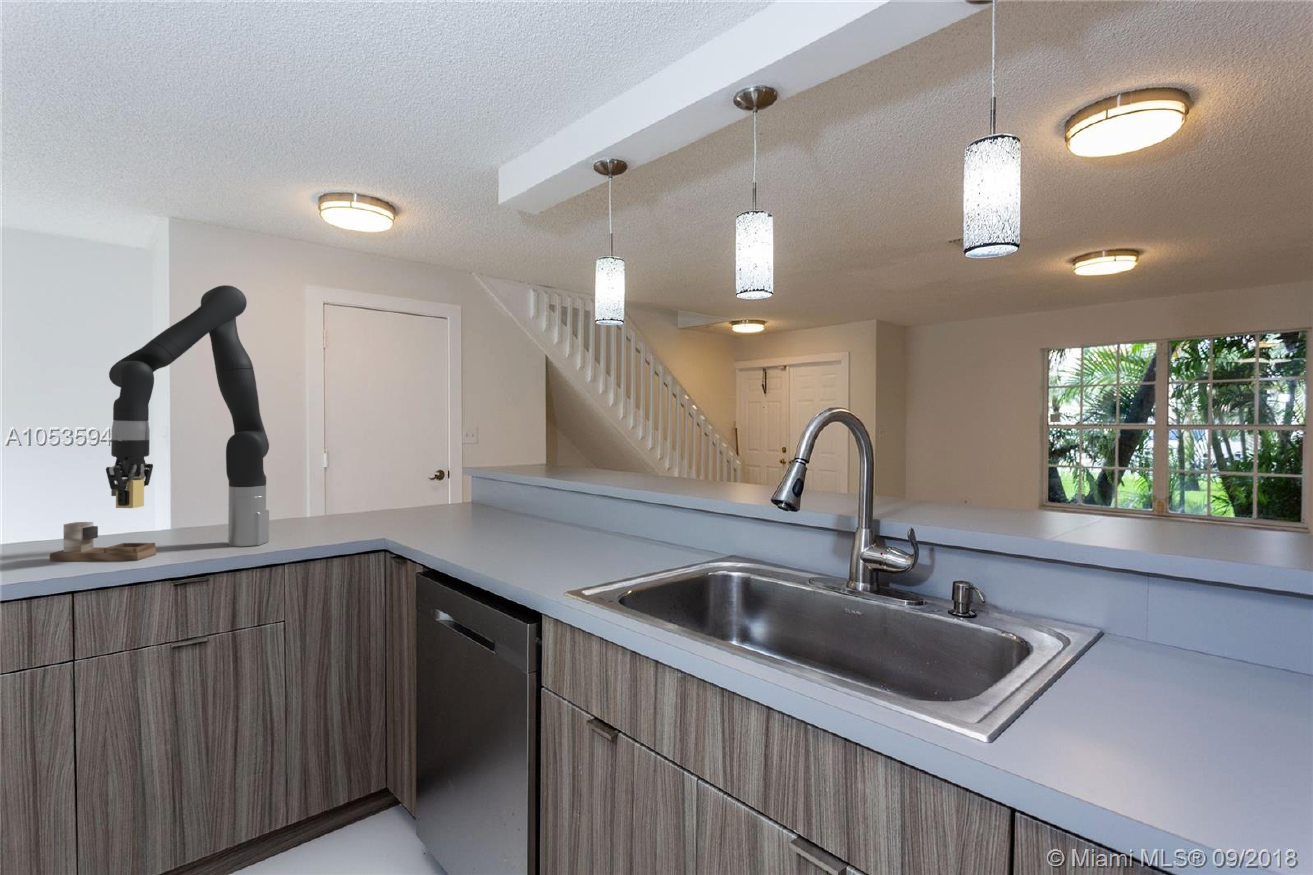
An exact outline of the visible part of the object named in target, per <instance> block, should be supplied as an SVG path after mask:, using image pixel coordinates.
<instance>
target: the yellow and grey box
mask: <svg viewBox="0 0 1313 875" xmlns="http://www.w3.org/2000/svg"><path fill="white" fill-rule="evenodd" d="M144 481H145V479H144V480H133V481H131V482H130V488H129V490H128V491H129V505H127V506H119V505H118V491H116V490H115V489H111V488H110V490H111V491H110V492H111V495H110V496H111V497H115V509H135V508H141V507H144V506H145V486H144ZM123 483H124V486H125V482H123ZM115 484H117V481H115Z"/></svg>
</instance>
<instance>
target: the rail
mask: <svg viewBox="0 0 1313 875" xmlns="http://www.w3.org/2000/svg"><path fill="white" fill-rule="evenodd" d="M98 538H99V526H98V525H94V521H73V522H70V523H63V549H61V550H58V551H57V550H56V551H53V552H49V562H111V561H113V562H115V561H117V562H120V561H121V562H122V561H125V562H126V561H127V562H130V561H133V562H134V561H135V562H136V561H140V560H144V559H147V558H150V557H154V556H156V555H157V547H156V542H123V543H118V544H115V545H110V546H107V547H94V540H95V539H98Z"/></svg>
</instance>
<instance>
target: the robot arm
mask: <svg viewBox="0 0 1313 875" xmlns="http://www.w3.org/2000/svg"><path fill="white" fill-rule="evenodd" d="M246 308H247V297H246V295H245V294H244V292H242V290H240V289H239V288H237V287H236V286H232V285H226V284H225V285H218V286H216V287H213V288H211V289H210V290H207V291H206V292H205V293H203V295H202V296H201V298H200V306H199V307H198V308H196V309H194V311H193V312H192V313H191V312H190V314H188V315H187V316H186V317H184V318H182V319H181V320H179V321H178V322H176V323H174V324H172V325H171V326H169V327H168V328H166V329H164V330H163V331H162V332H160V333H159V334H158V335H157V336H155V337H154V338H152V339H151V340H150V341H148V342H147V343H145V345H143V346H142V347H140V348H139V349H138V350H135V351H133V352H132V353H130V354H127V355H126V356H125V357H123V358H121V359H120V360H118V361H117V362H115V363H114V364H113V365H112V367H111V368H110V370H109V371H108V378H109V381H110V382H111V383H112V384H113V385H114V386H116V387H118V388H120V390H119V391H120V392H119V397H118V398H116V399H115V400H114V402H113V406H112V407H113V408H112V410H113V412H112V420H113V421H112V425H111V449H110V450H111V452H110V453H111V454H110V455H111V456H112V457H113V458H116V460H115V462H114V465H112V466H106V467H105V471H106V476H107V480H108V484H109V487H110V490H111V489H115V490H116V491H118V505H119V506H127V505H129V491H128V490H129V488H130V482H131V481H133V480H144V487H146V486H149V484H150V481H151V476H152V472H153V470H154V469H153V468H154V464H153V463H147V462H146V460H145V457H149V455H150V443H151V442H150V436H151V435H150V432H151V431H150V425H149V420H150V418H149V415H150V414H149V410H150V409H149V408H150V407H149V405H150V400H151V398H152V394H153V389H154V385H155V375H154V373H155V372H156V371H157V370H159V369H162V368H166V367H167V366H169V365H171V364H172V363H174V362H175V361H177V359H179V358H180V357H181V356H182V355H184V354H185V353H186V352H187V351H189V349H191V348H192V347H193V346H194V345H196V344H197V343H198V342H199V341H200V340H201V339H203V338H204V337H205V336H206V335H209V338H210V342H211V351H212V356H213V362H214V368H215V369H214V370H215V374H216V380H217V384H218V388H219V391H220V394H221V396H222V398H223V401H224V403H225V405H226V406H227V409H228V411H229V412H230V415H231V418H232V419H231V420H232V424H233V435H231V436H230V437H229V439H228V440H227V443H226V447H225V465H226V466H225V469H226V476H227V481H228V518H227V519H228V524H227V525H228V526H227V527H228V530H227V532H228V537H227V540H228V542H227V545H228V546H229V547H252V546H253V547H254V546H261V545H263V544H266V543H268V542H270V510H269V509H267V476H266V474H265V470H264V458H265V457H266V455H268V452H269V450H270V442H269V439H268V435H267V433H266V430H265V426H264V424H263V420H262V419H263V418H262V416H261V410H260V402H259V401H260V400H259V395H258V388H257V380H256V375H255V370H254V366H253V362H252V360H251V358H250V356H249V354H248V353H247V351H246V349H245V348H244V346H243V344H242V341H241V340H240V337H239V334H238V326H237V317H240V316H241V315H242V314H243V313H244V312H245V310H246ZM116 481H117V484H116ZM123 482H125V486H124V483H123Z"/></svg>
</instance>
